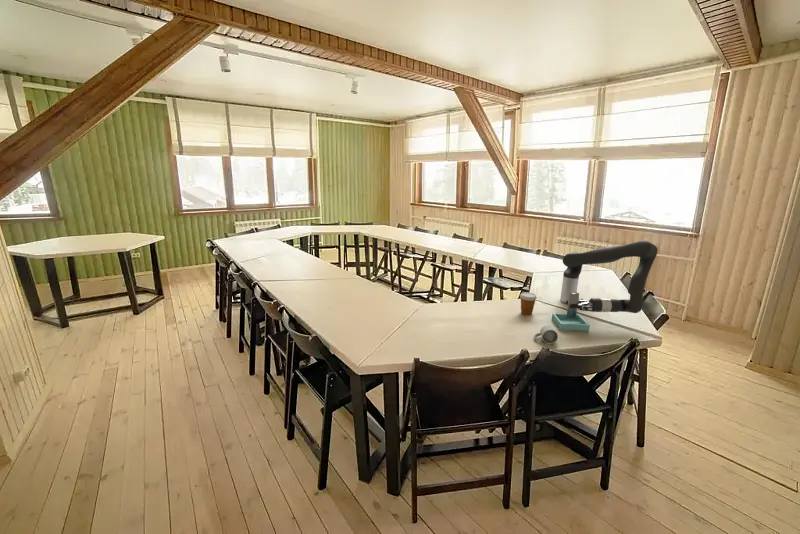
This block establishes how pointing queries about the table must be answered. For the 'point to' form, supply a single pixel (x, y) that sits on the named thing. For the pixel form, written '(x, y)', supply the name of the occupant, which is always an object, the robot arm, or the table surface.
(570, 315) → the charcoal metal canister
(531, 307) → the disposable coffee cup
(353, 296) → the table surface
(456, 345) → the table surface
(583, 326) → the teal box
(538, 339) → the ceramic mug
